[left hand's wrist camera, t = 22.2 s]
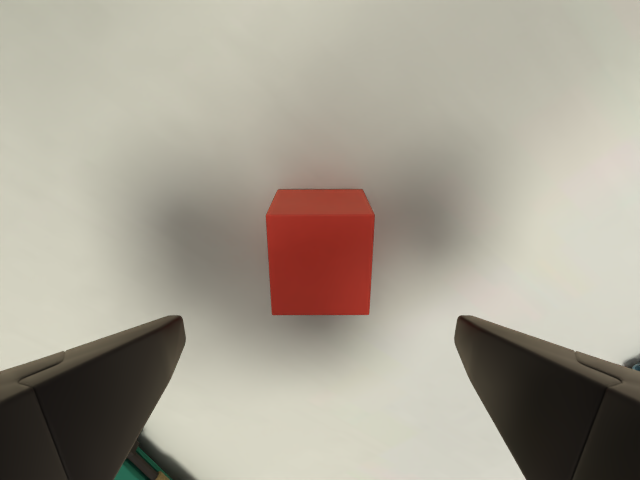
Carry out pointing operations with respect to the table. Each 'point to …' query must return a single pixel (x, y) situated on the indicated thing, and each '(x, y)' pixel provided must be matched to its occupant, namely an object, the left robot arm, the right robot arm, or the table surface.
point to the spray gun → (140, 467)
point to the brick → (320, 252)
